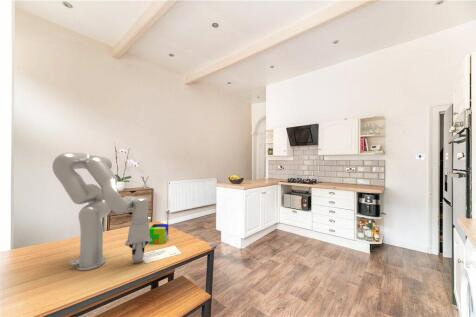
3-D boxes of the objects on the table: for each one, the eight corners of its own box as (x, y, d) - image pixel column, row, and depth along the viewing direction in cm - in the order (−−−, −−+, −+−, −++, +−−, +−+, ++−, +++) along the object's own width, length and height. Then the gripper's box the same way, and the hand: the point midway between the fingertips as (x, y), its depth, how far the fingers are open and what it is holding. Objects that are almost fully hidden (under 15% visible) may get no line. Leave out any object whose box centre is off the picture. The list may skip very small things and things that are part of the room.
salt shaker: (130, 264, 104) (131, 238, 104) (133, 258, 109) (134, 234, 109) (142, 263, 105) (144, 238, 105) (144, 257, 111) (145, 234, 111)
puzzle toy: (168, 238, 141) (168, 223, 141) (164, 244, 131) (164, 228, 131) (153, 238, 140) (153, 224, 140) (148, 244, 130) (148, 229, 130)
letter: (145, 263, 106) (145, 263, 106) (140, 254, 117) (140, 253, 117) (181, 253, 118) (181, 253, 118) (174, 245, 128) (174, 245, 128)
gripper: (154, 217, 115) (152, 249, 115) (121, 220, 106) (119, 255, 105) (157, 220, 109) (155, 254, 109) (123, 225, 100) (121, 262, 99)
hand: (138, 254), depth 107 cm, fingers closed on salt shaker, 3 cm apart
